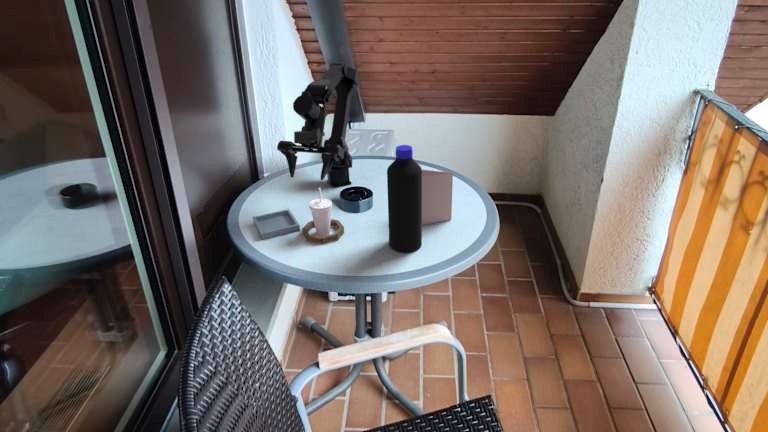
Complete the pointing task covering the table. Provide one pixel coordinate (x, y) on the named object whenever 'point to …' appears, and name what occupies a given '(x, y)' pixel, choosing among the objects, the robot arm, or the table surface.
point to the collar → (325, 238)
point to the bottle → (404, 201)
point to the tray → (276, 224)
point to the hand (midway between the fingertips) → (306, 178)
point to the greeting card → (436, 196)
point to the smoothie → (321, 214)
